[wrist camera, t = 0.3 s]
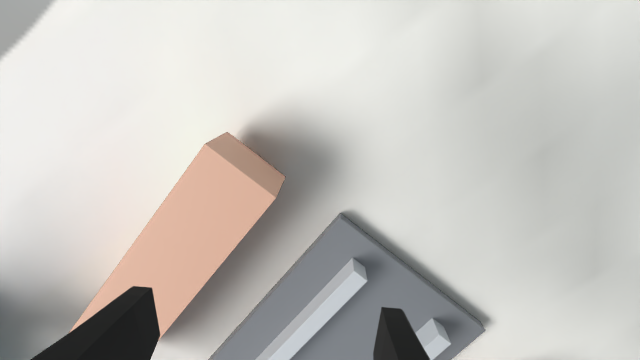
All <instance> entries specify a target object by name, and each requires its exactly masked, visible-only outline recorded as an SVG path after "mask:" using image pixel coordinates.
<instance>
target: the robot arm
mask: <svg viewBox="0 0 640 360" xmlns="http://www.w3.org/2000/svg"><path fill="white" fill-rule="evenodd" d="M159 337H160V330H159V324H158V318H157V313H156V307H155V301H154V296H153V290H152V288H151V287H139V286H132V287H131V288H129V289H128V290H127V291H125V292H124V293H122V294H121V295H120V296H118V297H117V298H116V299H114V300H113V301H112V302H110V303H109V304H108V305H106V306H105V307H104V308H102V309H101V310H100V311H98V312H97V313H96V314H94V315H93V316H92V317H90V318H89V319H88V320H86V321H85V322H84V323H82V324H81V325H79V326H78V327H77V328H75V329H74V330H73V331H71V332H70V333H69V334H67V335H66V336H64V337H63V338H62V339H60V340H59V341H57V342H56V343H54V344H53V345H51V346H50V347H48V348H47V349H45V350H44V351H43V352H41V353H40V354H38V355H37V356H35V357H34V358H32V359H31V360H150V359H151V356H152V354H153V352H154V349H155V347H156V344H157V342H158V339H159ZM373 360H430V358H429V356H428V355H427V353H426V351H425V350H424V348H423V346H422V344H421V343H420V341H419V339H418V337H417V336H416V334H415V332H414V330H413V328H412V326H411V324H410V322H409V321H408V319H407V317H406V315H405V313H404V311H403V310H402V309H400V308H388V307H381V313H380V318H379V324H378V329H377V335H376V340H375V345H374V351H373Z"/></svg>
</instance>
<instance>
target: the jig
mask: <svg viewBox="0 0 640 360" xmlns="http://www.w3.org/2000/svg"><path fill="white" fill-rule="evenodd" d="M381 307H388V308H400V309H402V310H403V311H404V313H405V315H406V317H407V319H408V321H409V322H410V324H411V326H412V328H413V330H414V332H415V334H416V336H417V337H418V339H419V341H420V343H421V344H422V346H423V348H424V350H425V351H426V353H427V355H428V356H429V358H430V360H451V359H452V358H454V357H455V356H456V355H457V354H458V353H460V352H461V351H462V350H463V349H464V348H465V347H467V346H468V345H469V344H470V343H471V342H472V341H474V340H475V339H476V338H477V337H478V336H479V335H481V334H482V333H483V332H484V331H485V329H484V327H483V325H482V324H481V322H480V321H479V320H477V319H476V318H475V317H473V316H472V315H471V314H470V313H468V312H467V311H466V310H464V309H463V308H462V307H461V306H459V305H458V304H457V303H455V302H454V301H453V300H452V299H450V298H449V297H448V296H446V295H445V294H444V293H443V292H441V291H440V290H439V289H437V288H436V287H435V286H434V285H432V284H431V283H430V282H428V281H427V280H426V279H425V278H423V277H422V276H421V275H419V274H418V273H417V272H416V271H414V270H413V269H412V268H410V267H409V266H408V265H407V264H405V263H404V262H403V261H401V260H400V259H399V258H397V257H396V256H395V255H394V254H392V253H391V252H390V251H388V250H387V249H386V248H385V247H383V246H382V245H381V244H379V243H378V242H377V241H376V240H374V239H373V238H372V237H370V236H369V235H368V234H367V233H365V232H364V231H363V230H361V229H360V228H359V227H358V226H356V225H355V224H354V223H352V222H351V221H350V220H349V219H347V218H346V217H345V216H343V215H342V214H341V213H340V214H339V215H338V216H337V217H336V218H335V219H334V220H333V222H332V223H331V224H330V225H329V226H328V227H327V228H326V229H325V230H324V232H323V233H322V234H321V235H320V236H319V237H318V238H317V239H316V240H315V242H314V243H313V244H312V245H311V246H310V247H309V248H308V249H307V250H306V252H305V253H304V254H303V255H302V256H301V257H300V258H299V259H298V260H297V262H296V263H295V264H294V265H293V266H292V267H291V268H290V269H289V270H288V272H287V273H286V274H285V275H284V276H283V277H282V278H281V279H280V280H279V282H278V283H277V284H276V285H275V286H274V287H273V288H272V289H271V290H270V292H269V293H268V294H267V295H266V296H265V297H264V298H263V299H262V300H261V302H260V303H259V304H258V305H257V306H256V307H255V308H254V309H253V310H252V312H251V313H250V314H249V315H248V316H247V317H246V318H245V319H244V320H243V322H242V323H241V324H240V325H239V326H238V327H237V328H236V329H235V330H234V332H233V333H232V334H231V335H230V336H229V337H228V338H227V339H226V340H225V342H224V343H223V344H222V345H221V346H220V347H219V348H218V349H217V350H216V352H215V353H214V354H213V355H212V356H211V357H210V358H209V359H208V360H373V351H374V345H375V340H376V335H377V329H378V324H379V318H380V313H381Z"/></svg>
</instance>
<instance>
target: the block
mask: <svg viewBox="0 0 640 360" xmlns="http://www.w3.org/2000/svg"><path fill="white" fill-rule="evenodd" d="M284 179H285V176H284V175H283V174H281V173H280V172H279V171H278V170H276V169H275V168H274V167H272V166H271V165H270V164H268V163H267V162H266V161H265V160H263V159H262V158H261V157H259V156H258V155H257V154H256V153H254V152H253V151H252V150H250V149H249V148H248V147H246V146H245V145H244V144H243V143H241V142H240V141H239V140H237V139H236V138H235V137H234V136H232V135H231V134H230V133H228V132H226V133H224V134H222V135H220V136H218V137H217V138H215V139H213V140H211V141H209V142H207V143H206V144H204V146H203V147H202V149H201V150H200V151H199V153H198V154H197V156H196V157H195V158H194V160H193V161H192V162H191V164H190V165H189V167H188V168H187V169H186V171H185V172H184V174H183V175H182V176H181V178H180V179H179V181H178V182H177V183H176V185H175V186H174V187H173V189H172V190H171V192H170V193H169V194H168V196H167V197H166V199H165V200H164V201H163V203H162V204H161V206H160V207H159V208H158V210H157V211H156V212H155V214H154V215H153V217H152V218H151V219H150V221H149V222H148V224H147V225H146V226H145V228H144V229H143V231H142V232H141V233H140V235H139V236H138V237H137V239H136V240H135V242H134V243H133V244H132V246H131V247H130V249H129V250H128V251H127V253H126V254H125V256H124V257H123V258H122V260H121V261H120V262H119V264H118V265H117V267H116V268H115V269H114V271H113V272H112V274H111V275H110V276H109V278H108V279H107V281H106V282H105V283H104V285H103V286H102V287H101V289H100V290H99V292H98V293H97V294H96V296H95V297H94V299H93V300H92V301H91V303H90V304H89V306H88V307H87V308H86V310H85V311H84V312H83V314H82V315H81V317H80V318H79V319H78V321H77V322H76V324H75V325H74V326H73V328H72V329H71V331H73V330H74V329H75V328H77V327H78V326H79V325H81V324H82V323H84V322H85V321H86V320H88V319H89V318H90V317H92V316H93V315H94V314H96V313H97V312H98V311H100V310H101V309H102V308H104V307H105V306H106V305H108V304H109V303H110V302H112V301H113V300H114V299H116V298H117V297H118V296H120V295H121V294H122V293H124V292H125V291H127V290H128V289H129V288H131V287H132V286H139V287H151V288H152V290H153V296H154V301H155V307H156V313H157V318H158V324H159V330H160V337H159V339H160V338H161V337H162V336H163V334H164V333H165V332H166V331H167V329H168V328H169V327H170V326H171V325H172V323H173V322H174V321H175V320H176V319H177V317H178V316H179V315H180V314H181V312H182V311H183V310H184V309H185V308H186V306H187V305H188V304H189V303H190V302H191V300H192V299H193V298H194V297H195V296H196V294H197V293H198V292H199V291H200V289H201V288H202V287H203V286H204V285H205V283H206V282H207V281H208V280H209V279H210V277H211V276H212V275H213V274H214V273H215V271H216V270H217V269H218V268H219V266H220V265H221V264H222V263H223V262H224V260H225V259H226V258H227V257H228V256H229V254H230V253H231V252H232V251H233V249H234V248H235V247H236V246H237V245H238V243H239V242H240V241H241V240H242V239H243V237H244V236H245V235H246V234H247V233H248V231H249V230H250V229H251V228H252V226H253V225H254V224H255V223H256V222H257V220H258V219H259V218H260V217H261V216H262V214H263V213H264V212H265V211H266V210H267V208H268V207H269V206H270V205H271V203H272V202H273V201H274V200H275V199H276V197H277V195H278V193H279V190H280V188H281V186H282V184H283V182H284ZM71 331H70V332H71ZM70 332H69V333H70ZM69 333H68V334H69ZM159 339H158V340H159Z"/></svg>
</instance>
